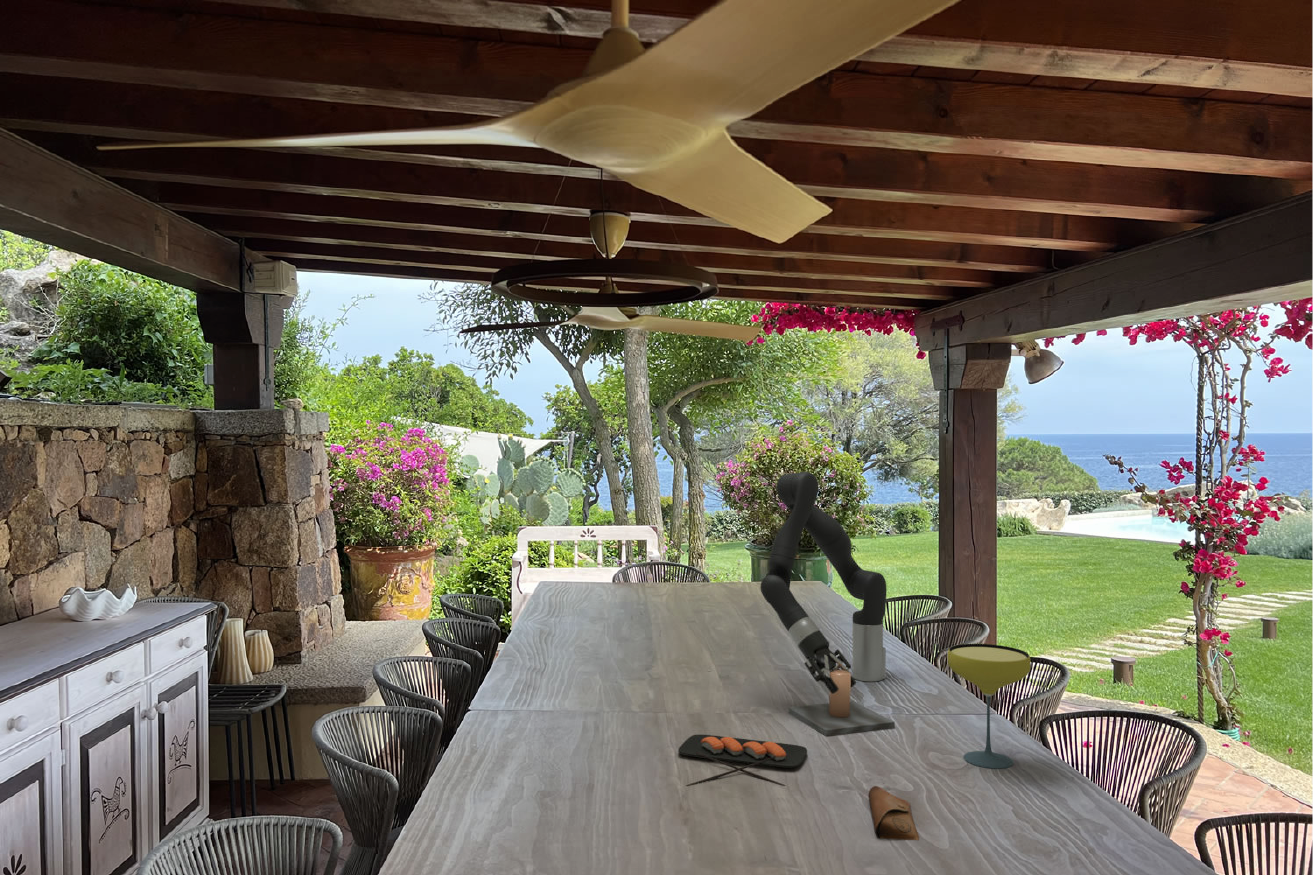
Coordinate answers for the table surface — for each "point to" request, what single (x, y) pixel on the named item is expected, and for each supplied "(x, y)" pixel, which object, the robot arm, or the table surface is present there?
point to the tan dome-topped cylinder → (840, 694)
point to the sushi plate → (743, 753)
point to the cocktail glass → (989, 684)
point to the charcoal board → (841, 719)
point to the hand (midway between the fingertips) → (844, 688)
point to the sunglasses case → (891, 816)
